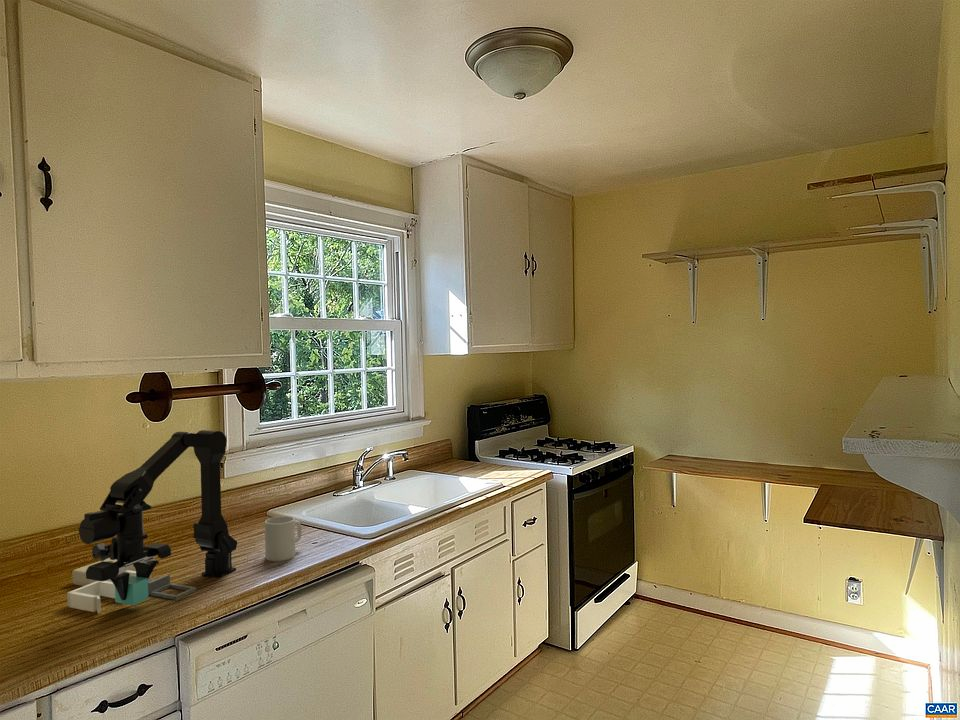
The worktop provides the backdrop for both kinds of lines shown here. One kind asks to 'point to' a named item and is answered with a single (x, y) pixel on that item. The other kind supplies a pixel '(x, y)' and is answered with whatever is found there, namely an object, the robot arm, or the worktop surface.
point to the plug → (134, 591)
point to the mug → (281, 538)
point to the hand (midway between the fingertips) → (131, 596)
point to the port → (93, 594)
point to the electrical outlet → (80, 579)
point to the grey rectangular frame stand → (164, 583)
